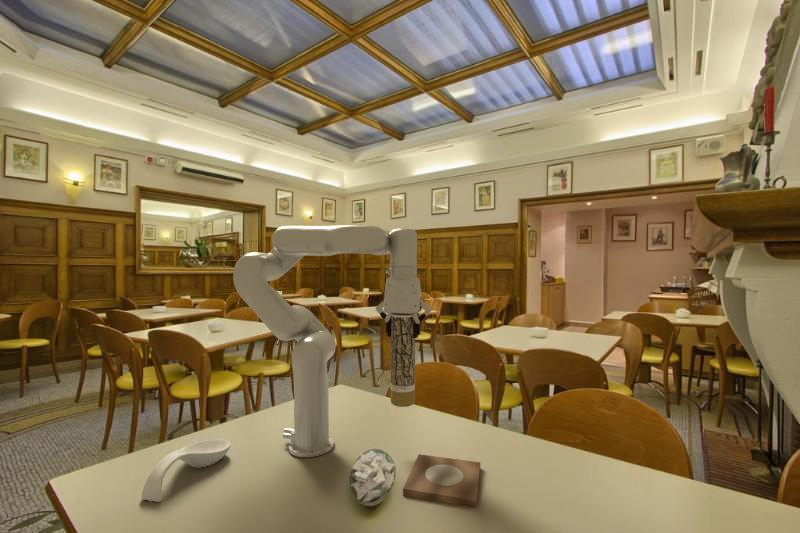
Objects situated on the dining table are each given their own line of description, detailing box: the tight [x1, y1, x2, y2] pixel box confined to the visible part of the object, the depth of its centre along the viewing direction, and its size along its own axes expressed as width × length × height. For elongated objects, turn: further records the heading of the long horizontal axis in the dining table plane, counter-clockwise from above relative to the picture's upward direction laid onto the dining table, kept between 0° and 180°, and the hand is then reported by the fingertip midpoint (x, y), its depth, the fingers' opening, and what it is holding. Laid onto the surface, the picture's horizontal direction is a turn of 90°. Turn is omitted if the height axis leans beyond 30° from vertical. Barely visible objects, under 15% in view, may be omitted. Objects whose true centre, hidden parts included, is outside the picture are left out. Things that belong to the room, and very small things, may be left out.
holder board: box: [402, 453, 481, 508], centre depth 88 cm, size 16×16×2 cm
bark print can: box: [390, 314, 416, 408], centre depth 104 cm, size 7×7×25 cm
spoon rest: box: [141, 438, 231, 503], centre depth 92 cm, size 24×12×7 cm, turn 171°
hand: (403, 336), depth 104 cm, fingers closed on bark print can, 6 cm apart
